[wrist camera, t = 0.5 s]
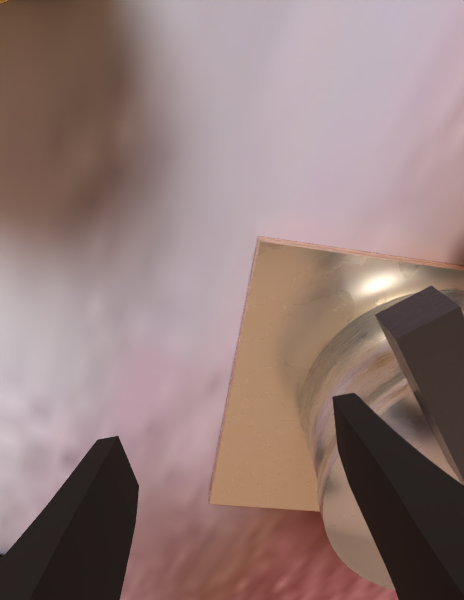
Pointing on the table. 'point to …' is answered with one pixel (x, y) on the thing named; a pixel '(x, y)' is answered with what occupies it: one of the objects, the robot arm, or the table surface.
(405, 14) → the table surface
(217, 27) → the table surface
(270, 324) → the tan square board
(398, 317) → the cooker lid
